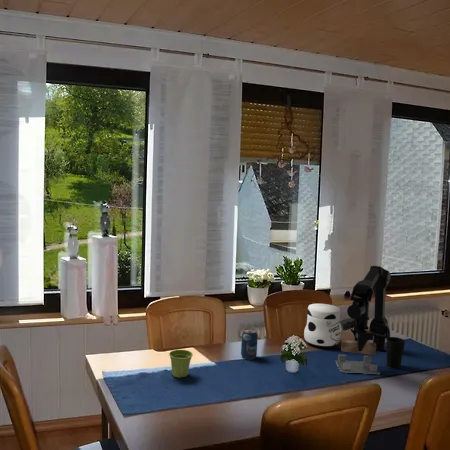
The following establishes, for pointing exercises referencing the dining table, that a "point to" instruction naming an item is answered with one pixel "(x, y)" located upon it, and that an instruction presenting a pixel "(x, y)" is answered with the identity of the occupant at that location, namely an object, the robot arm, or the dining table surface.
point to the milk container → (322, 325)
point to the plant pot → (180, 362)
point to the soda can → (249, 344)
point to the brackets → (357, 365)
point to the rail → (353, 347)
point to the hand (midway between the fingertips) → (358, 349)
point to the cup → (394, 351)
